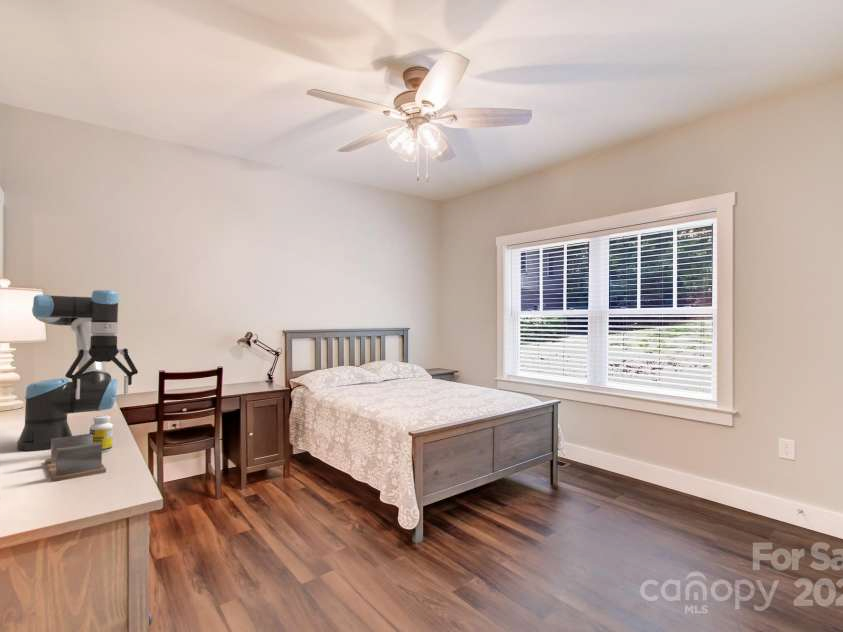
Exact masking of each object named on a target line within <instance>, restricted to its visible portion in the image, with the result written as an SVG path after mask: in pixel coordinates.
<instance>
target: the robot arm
mask: <svg viewBox="0 0 843 632" xmlns="http://www.w3.org/2000/svg"><path fill="white" fill-rule="evenodd" d="M119 302H120V300H119V293H118V292H117V291H115V290H106V289H95V290H93V291H92V293H91V297H90V296H67V295H51V294H50V295H49V294H44V295H43V294H42V295H41V294H40V295H39V294H37V295H35V296H33V302H32V304H33V305H32V307H31V312H32V315H33V317H34V318H35V319H36V320H37V321H39V322H42V323H44V324H50V325H53V326H70V329H71V330H72V331H73V332H74V333H75V339H76V354H77V356H76V358H75V359H74V361H73V362H72V364H71V366H70V367H69V368H68V370H67V371H66V373H65V375H64V376H65V377H61V378H53V379H45V380H40V381H36V382H33V383H30V384H29V385H27V387H26V388H25V389H26V391H25V396H24V399H25V410H24V412H25V413H24V427H23V428H22V432H21V433H20V436H19V438H18V439H17V443H16V444H17V446H16V448H17V450H18V451H28V452H30V451H40V450H41V451H42V450H49V449H50V450H51V439H52V438H60V437H68V436H73V434H72V431H71V428H70V425H69V423H68V414H79V413H88V412H100V411H106V410H110V409H112V408H113V407H114V405H115V401H116V396H117V389H118V380H117V379H116V378H112V375H111V374H110V373H109V372H108V371H107V370H106V363H109V362H112V363H114V364H115V365H116V366H117V367H118V368H119V369H120V370H121V371H122V372H123V373H125V375H123V376H124V377H123V395H124V396H128V395H129V386H131V385H132V384H133V383H132V381H133V376H134V375H137V374H139V371H138V369H137V368H136V366H135V364H134V362H133V360H132V358H131V356H130V355H129V349H128V348H125V347H124V348H120V349H118V336H117V334H118V319H119V318H118V315H119ZM118 354H120V355H121V356H123V359H124V360H125V361H126V364H127V365H128V367H129V369H130V370H129V369H128V368H127V367H126V366H125V365H124V364H123V363H122V362H121V361H120V360H119V359H118V358H117V357H116V356H117V355H118ZM77 368H78V369H77ZM76 369H77V371H76V372H75V370H76ZM69 379H71V381H70V380H69Z"/></svg>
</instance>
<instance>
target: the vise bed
mask: <svg viewBox="0 0 843 632" xmlns="http://www.w3.org/2000/svg"><path fill="white" fill-rule="evenodd" d="M102 455H103V452H102V444H101V443H94V444H86V445H79V446H72V447H65V448H58V449H57V457H56V463H53V464H51V462H50V461H51V458H47V459H44V464H45V466H46V470H47V471H48V473H49V476H50V479H51V481H52V482H58V481H59V482H60V481H65V480H71V479H77V478H82V477H87V476H92V475H97V474H102V473H107V468H106V466H105V465H104V464H103V463H102V461H103V460H102V459H103V456H102Z"/></svg>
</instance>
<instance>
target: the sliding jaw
mask: <svg viewBox="0 0 843 632" xmlns="http://www.w3.org/2000/svg"><path fill="white" fill-rule="evenodd" d="M86 444H93V435H92V434H90V433H85V434H77V435H72V436H68V437H60V438H52V439H51V448H50V459H51V461H50V462H51V464H53V463H56V457H57V449H58V448H65V447H72V446H79V445H86Z"/></svg>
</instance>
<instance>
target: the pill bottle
mask: <svg viewBox="0 0 843 632" xmlns="http://www.w3.org/2000/svg"><path fill="white" fill-rule="evenodd" d="M110 420H111V416H110V415H98V416H94V417H93V420H92V421H93V423H94V424H92V425H90V427H89V434H92V435H93V444H94V443H101V444H102V453H106V452H110V451H111V450H112V449H113V440H114V439H113V438H114V436H113V435H114V425H113V423H111V422H110Z"/></svg>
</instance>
